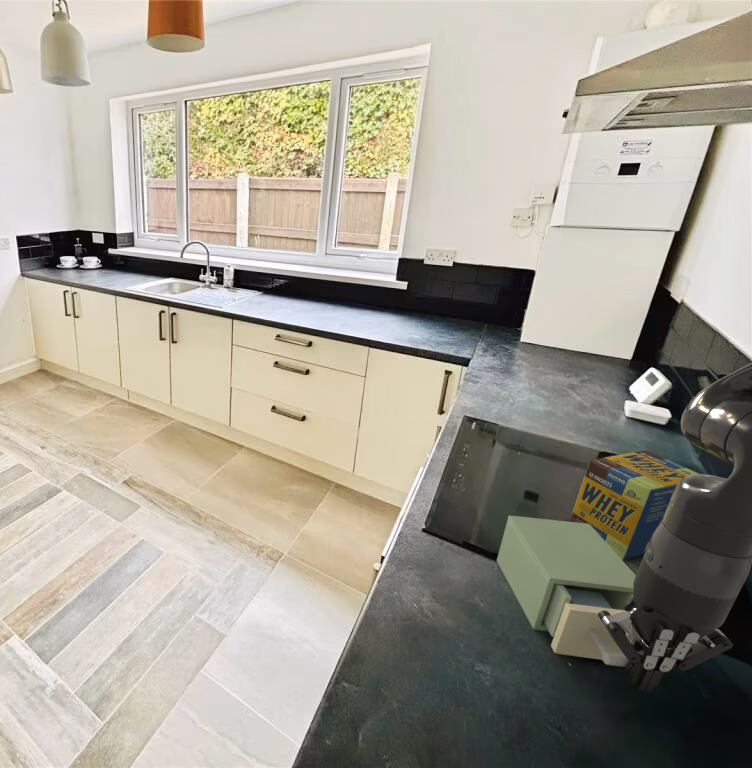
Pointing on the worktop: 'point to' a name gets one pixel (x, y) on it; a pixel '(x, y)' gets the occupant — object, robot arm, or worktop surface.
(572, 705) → the worktop surface
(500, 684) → the worktop surface
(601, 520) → the protein box
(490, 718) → the worktop surface
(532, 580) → the cabinet
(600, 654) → the drawer
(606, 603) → the block
